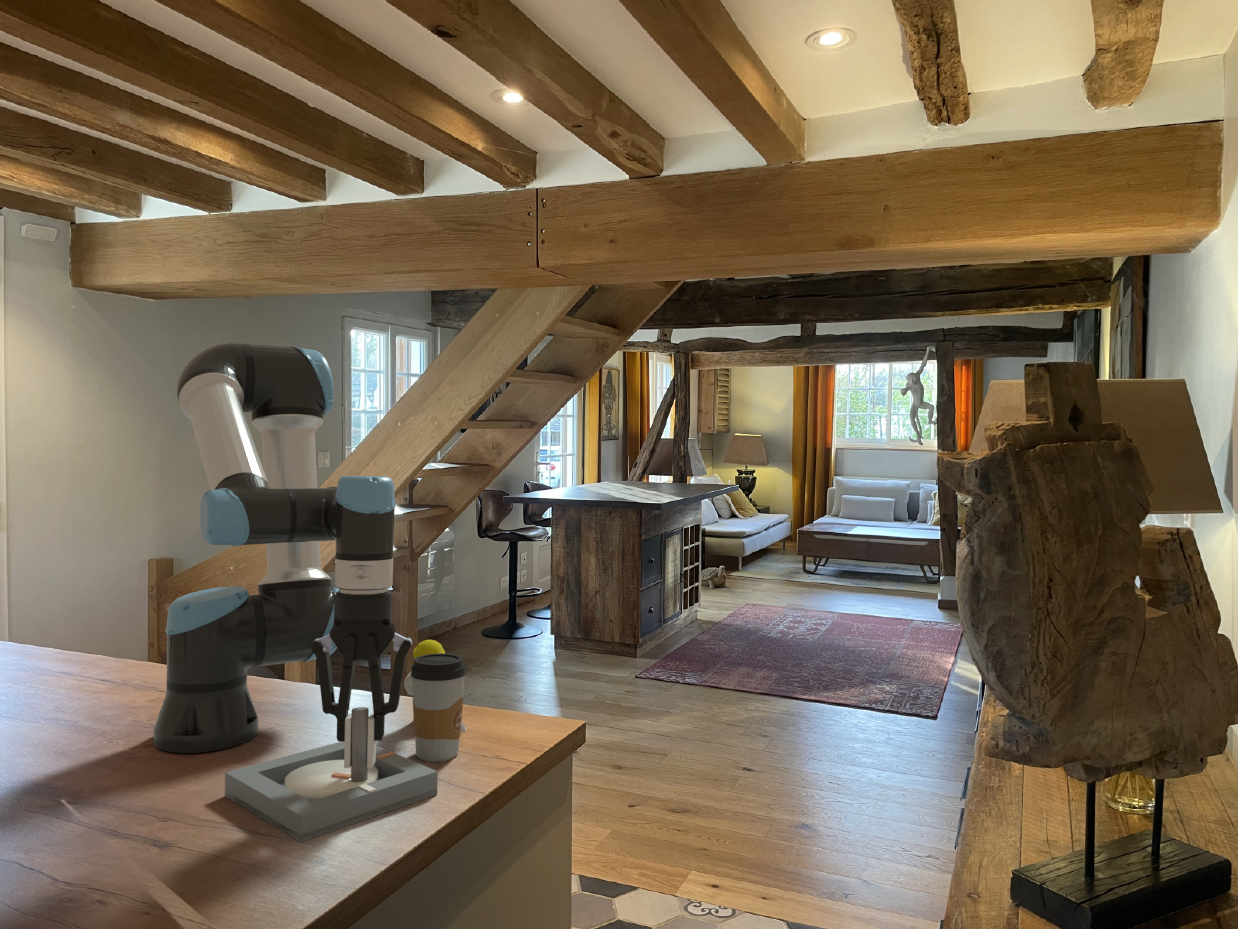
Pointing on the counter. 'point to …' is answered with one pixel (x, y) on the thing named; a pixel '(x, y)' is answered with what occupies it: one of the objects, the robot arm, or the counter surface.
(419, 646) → the figurine
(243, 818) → the counter surface
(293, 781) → the dial
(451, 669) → the coffee cup
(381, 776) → the dial board
